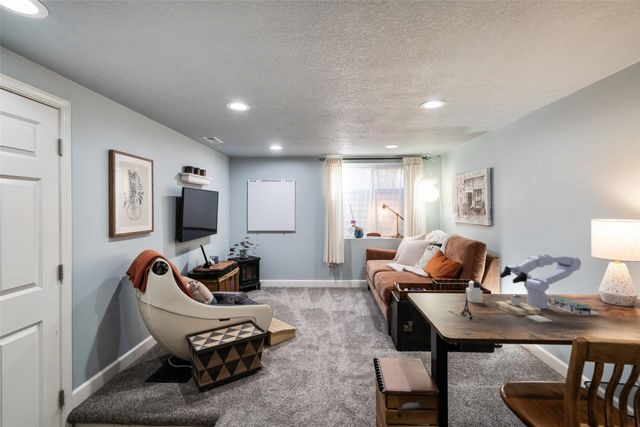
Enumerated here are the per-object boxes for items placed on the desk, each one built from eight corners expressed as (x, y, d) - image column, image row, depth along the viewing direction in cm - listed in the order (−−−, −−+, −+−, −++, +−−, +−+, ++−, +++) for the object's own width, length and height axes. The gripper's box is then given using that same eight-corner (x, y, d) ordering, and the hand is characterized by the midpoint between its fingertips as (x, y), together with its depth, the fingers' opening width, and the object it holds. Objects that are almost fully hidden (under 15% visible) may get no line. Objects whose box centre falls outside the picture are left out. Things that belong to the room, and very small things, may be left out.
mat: (537, 315, 158) (537, 314, 158) (552, 321, 150) (552, 320, 150) (525, 316, 157) (525, 315, 157) (539, 322, 149) (539, 321, 149)
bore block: (515, 304, 177) (515, 300, 177) (540, 314, 161) (540, 309, 161) (492, 305, 173) (492, 301, 173) (515, 315, 158) (515, 310, 158)
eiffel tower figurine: (447, 312, 163) (447, 287, 163) (462, 310, 166) (462, 286, 166) (468, 322, 149) (469, 295, 149) (484, 320, 152) (485, 294, 152)
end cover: (515, 308, 170) (515, 294, 170) (522, 310, 166) (522, 296, 165) (508, 308, 169) (509, 294, 169) (515, 311, 165) (515, 296, 165)
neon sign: (623, 306, 165) (578, 308, 160) (623, 314, 165) (578, 316, 160) (584, 295, 185) (543, 296, 181) (584, 302, 186) (542, 303, 181)
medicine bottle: (477, 299, 186) (478, 280, 185) (482, 303, 179) (483, 283, 178) (465, 298, 186) (466, 279, 186) (470, 302, 179) (470, 282, 179)
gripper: (512, 258, 177) (494, 268, 173) (536, 266, 163) (518, 278, 160) (513, 268, 179) (496, 278, 176) (538, 277, 165) (519, 288, 162)
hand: (507, 279), depth 168 cm, fingers open, 7 cm apart
